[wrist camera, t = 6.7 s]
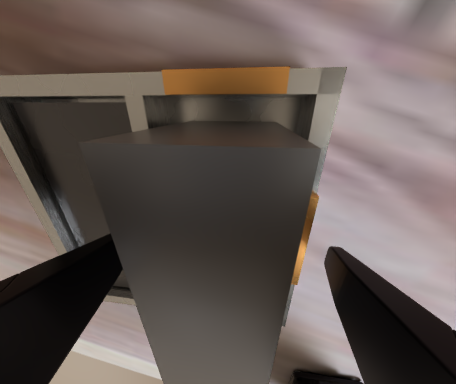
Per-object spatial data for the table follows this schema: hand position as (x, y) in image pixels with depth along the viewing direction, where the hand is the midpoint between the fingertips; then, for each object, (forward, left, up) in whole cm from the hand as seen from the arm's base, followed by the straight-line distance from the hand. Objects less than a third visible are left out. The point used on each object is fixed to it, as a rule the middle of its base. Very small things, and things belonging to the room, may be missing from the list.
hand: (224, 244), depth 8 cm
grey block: (0, 0, -3) cm, 3 cm away
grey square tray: (0, +3, -3) cm, 5 cm away
